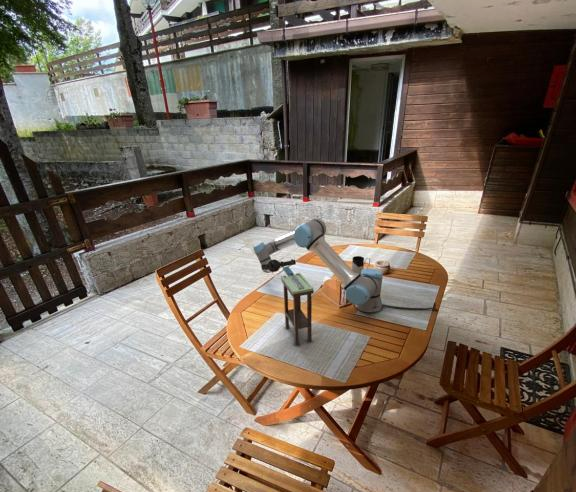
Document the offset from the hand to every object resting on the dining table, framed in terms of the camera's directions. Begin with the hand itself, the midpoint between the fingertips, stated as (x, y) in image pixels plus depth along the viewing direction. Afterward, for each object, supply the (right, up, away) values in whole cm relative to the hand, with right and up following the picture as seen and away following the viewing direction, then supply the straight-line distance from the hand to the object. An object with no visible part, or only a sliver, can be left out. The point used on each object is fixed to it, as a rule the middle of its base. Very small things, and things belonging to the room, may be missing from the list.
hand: (283, 263), depth 171 cm
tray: (+7, -13, -23) cm, 27 cm away
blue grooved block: (+5, -10, -18) cm, 21 cm away
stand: (+8, -38, -7) cm, 39 cm away
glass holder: (+53, -4, +46) cm, 70 cm away
